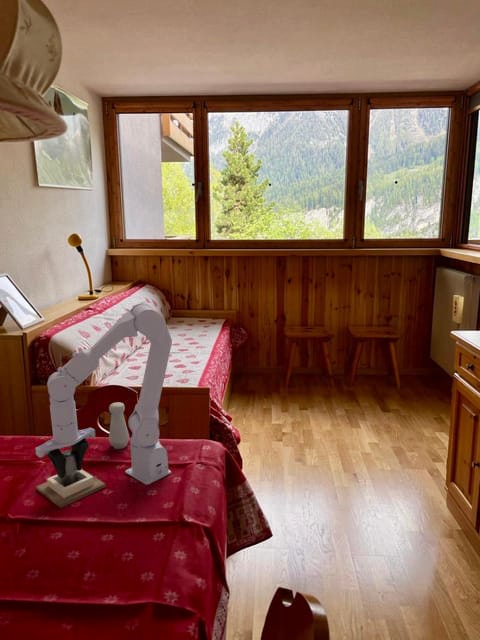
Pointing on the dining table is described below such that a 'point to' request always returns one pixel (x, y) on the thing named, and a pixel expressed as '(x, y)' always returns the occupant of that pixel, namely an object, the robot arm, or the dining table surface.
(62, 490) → the socket board
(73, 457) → the peg
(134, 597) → the dining table surface
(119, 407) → the salt shaker
